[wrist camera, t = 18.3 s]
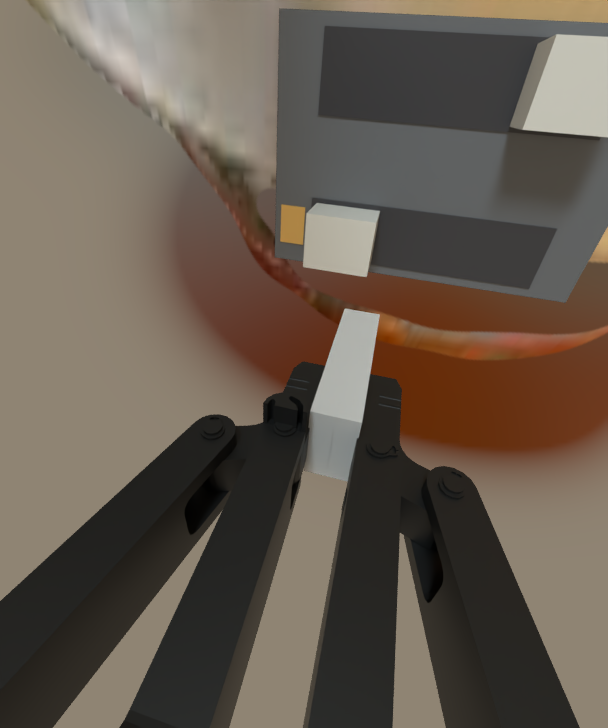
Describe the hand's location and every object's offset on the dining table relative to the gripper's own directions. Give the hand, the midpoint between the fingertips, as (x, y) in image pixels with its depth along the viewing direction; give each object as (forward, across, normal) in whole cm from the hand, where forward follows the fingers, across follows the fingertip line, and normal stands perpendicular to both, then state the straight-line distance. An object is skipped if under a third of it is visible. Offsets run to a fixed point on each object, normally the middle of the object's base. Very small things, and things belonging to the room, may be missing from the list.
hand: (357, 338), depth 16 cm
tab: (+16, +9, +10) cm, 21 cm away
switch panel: (+18, +3, +5) cm, 19 cm away
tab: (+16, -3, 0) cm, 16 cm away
